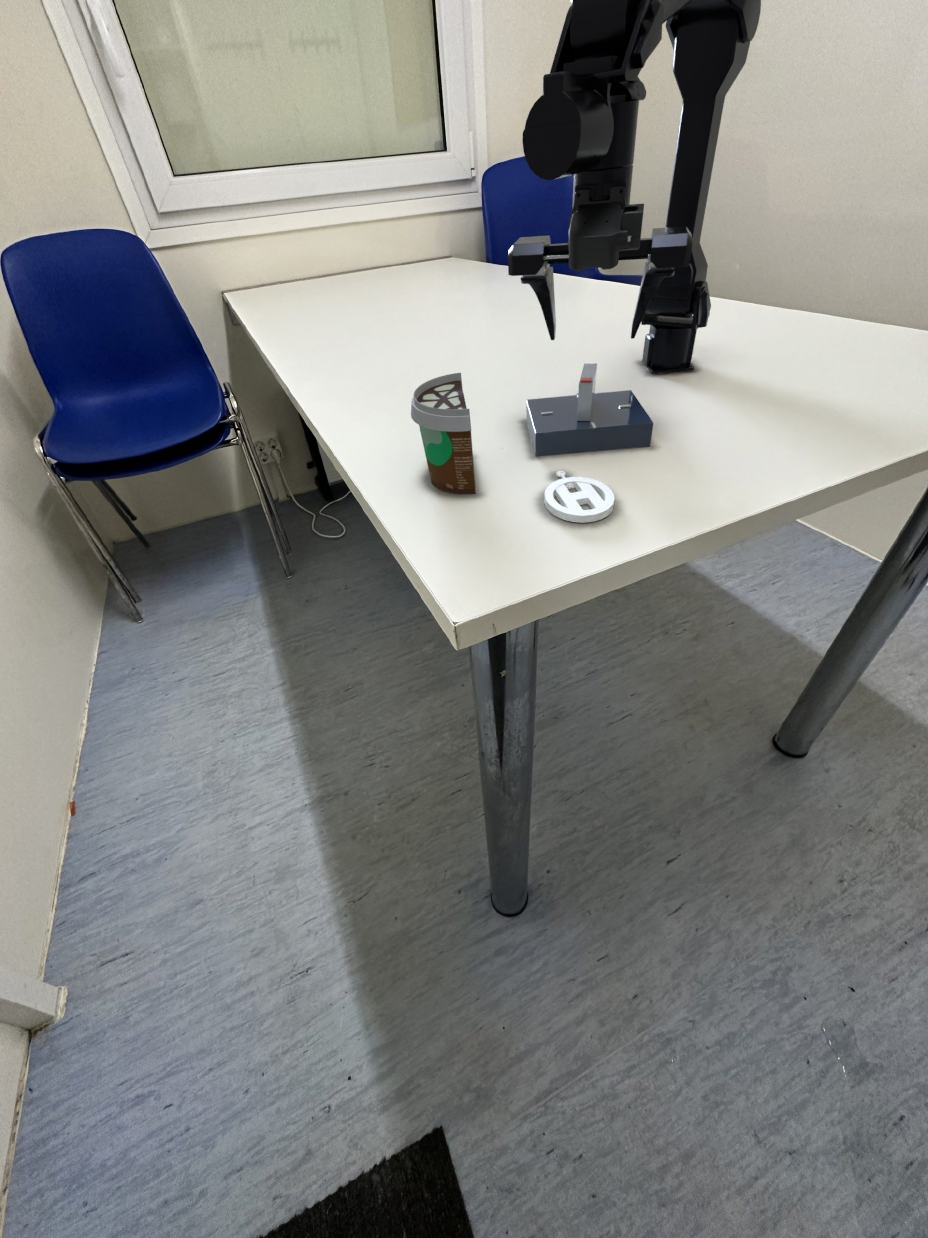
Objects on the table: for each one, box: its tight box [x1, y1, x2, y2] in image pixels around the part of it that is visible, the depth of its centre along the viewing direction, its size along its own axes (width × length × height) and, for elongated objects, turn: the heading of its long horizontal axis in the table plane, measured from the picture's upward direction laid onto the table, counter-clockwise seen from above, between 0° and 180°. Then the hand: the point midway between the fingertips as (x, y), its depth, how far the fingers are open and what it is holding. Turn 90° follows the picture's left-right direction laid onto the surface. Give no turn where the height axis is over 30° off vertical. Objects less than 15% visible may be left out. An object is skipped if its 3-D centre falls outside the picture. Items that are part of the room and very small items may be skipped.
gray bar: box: [577, 362, 598, 421], centre depth 67 cm, size 7×2×5 cm, turn 166°
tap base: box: [525, 389, 654, 457], centre depth 70 cm, size 14×11×3 cm
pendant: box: [543, 470, 615, 524], centre depth 59 cm, size 7×11×1 cm, turn 12°
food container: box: [410, 371, 477, 495], centre depth 62 cm, size 12×6×10 cm, turn 5°
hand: (592, 338), depth 64 cm, fingers open, 9 cm apart
